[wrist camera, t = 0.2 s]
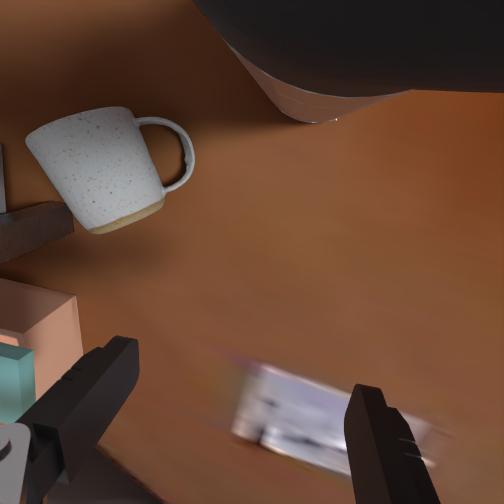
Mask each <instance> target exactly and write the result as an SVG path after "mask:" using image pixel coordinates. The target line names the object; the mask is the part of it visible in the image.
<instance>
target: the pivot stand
mask: <svg viewBox="0 0 504 504" xmlns="http://www.w3.org/2000/svg"><path fill="white" fill-rule="evenodd" d="M73 232H74V226H73V217H72V212H71V210H70V209H69V207H68V206H67V204H66V203H62V202H57V201H50V202H46V203H42V204H39V205H35V206H32V207H28V208H24V209H21V210H17V211H13V212H10V213H6V214H2V215H0V264H2V263H4V262H7V261H9V260H11V259H14V258H16V257H18V256H20V255H23V254H25V253H27V252H29V251H32V250H34V249H36V248H38V247H41V246H43V245H45V244H48V243H50V242H52V241H54V240H57V239H59V238H61V237H63V236H66V235H68V234H70V233H73Z"/></svg>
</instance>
